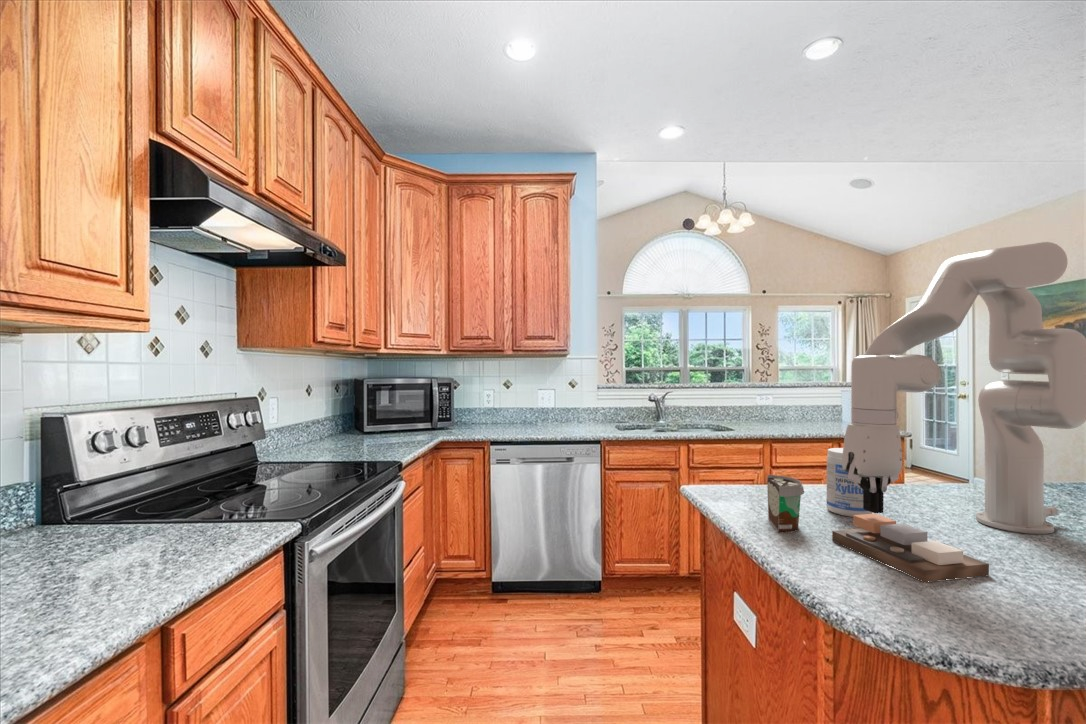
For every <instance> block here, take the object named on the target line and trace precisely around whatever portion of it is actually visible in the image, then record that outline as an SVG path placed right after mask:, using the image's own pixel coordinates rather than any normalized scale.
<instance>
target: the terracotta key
mask: <svg viewBox="0 0 1086 724" xmlns="http://www.w3.org/2000/svg"><path fill="white" fill-rule="evenodd" d="M890 524H897V520H894V519H891V518H888V517H885V516H882V515H880V514H878V513H872V514H862V515H853V517H852V525H853V526H855V527H856V528H857V527H858V529H864V530H867V531H869V532H872V533H881V528H880V525H890Z"/></svg>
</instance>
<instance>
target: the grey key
mask: <svg viewBox="0 0 1086 724" xmlns="http://www.w3.org/2000/svg"><path fill="white" fill-rule="evenodd" d="M880 528H881V536H882V537H885V538H887V539H890V540H892V541H895V542H897V543H900V544H902V545H911V544H912V543H916V542H927V541H928V531H925V530H923V529H920V528H918V527H914V526H912V525H908V524H905V523H903V522H902V523H896V524H890V525H880Z"/></svg>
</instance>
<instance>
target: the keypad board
mask: <svg viewBox="0 0 1086 724" xmlns="http://www.w3.org/2000/svg"><path fill="white" fill-rule="evenodd" d="M831 533H832V534H831V536H832V537H831V538H832V539H831V540H832V542H834V543H836V542H837V543H836V544H838V543H839V544H838V545H840V544H841V546H843V545H844V546H843V547H845V546H846V547H845V548H847V547H848V549H849V548H851V549H853V550H852V551H854V550H855V551H854V552H856V551H857V552H856V553H858V552H860V553H862V554H864V555H866V556H865V557H867V556H868V557H867V558H869V557H871V558H873V559H875V560H878V561H880V562H882V563H884V564H887V565H889V566H892V567H894V568H896V569H898V570H901V571H903V572H905V573H907V574H909V575H911V576H913V577H915V578H917V579H919V580H922V581H923V582H922V581H921V582H922V583H924V582H926V583H931V582H930V581H936V582H939V581H938V580H945V581H947V580H946V579H954V580H956V579H955V578H963V579H968V578H967V577H973V578H976V577H975V576H982V577H987V576H986V575H989V576H990V568H989V567H990V564H989V563H987V562H985V561H982V560H979V559H977V558H974V557H971V556H969V555H965V554H963V563H956V564H946V565H937V564H934V563H932V562H929V561H927V560H925V559H924V558H922V557H920V556H917V555H915V554H912V544H911V545H902V544H900V543H897V542H895V541H892V540H890V539H887V538H885V537H882V536H881V533H872V532H869V531H867V530H864V529H862V528H853V529H852V528H851V529H838V530H832V531H831ZM851 549H850V550H851ZM860 553H859V554H860ZM862 554H861V555H862ZM864 555H863V556H864ZM871 558H870V559H871ZM873 559H872V560H873ZM875 560H874V561H875ZM878 561H877V562H878ZM880 562H879V563H880ZM882 563H881V564H882ZM884 564H883V565H884ZM889 566H888V567H889ZM911 576H910V577H911ZM913 577H912V578H913ZM915 578H914V579H915ZM917 579H916V580H917ZM919 580H918V581H919ZM928 581H929V582H928Z"/></svg>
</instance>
